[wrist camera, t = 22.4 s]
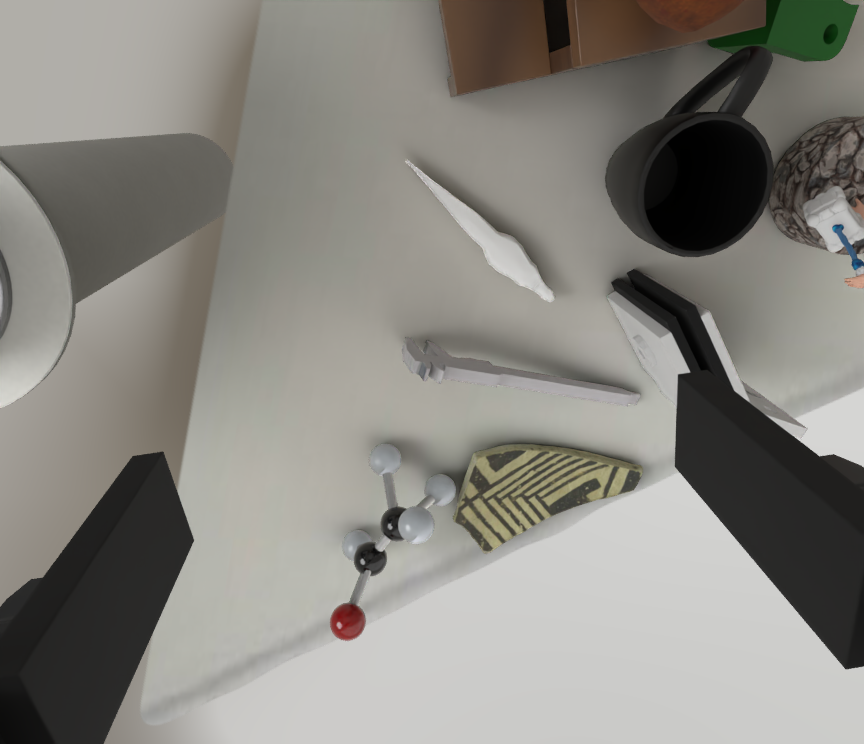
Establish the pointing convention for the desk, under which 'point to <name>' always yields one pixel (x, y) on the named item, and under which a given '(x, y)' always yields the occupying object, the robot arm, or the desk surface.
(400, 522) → the molecular model
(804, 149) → the figurine
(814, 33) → the clamp
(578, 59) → the step shelf
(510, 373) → the caliper
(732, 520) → the robot arm
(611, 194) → the mug
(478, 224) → the white tapered spike
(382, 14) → the desk surface
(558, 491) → the pottery shard
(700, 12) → the potato
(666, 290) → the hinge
